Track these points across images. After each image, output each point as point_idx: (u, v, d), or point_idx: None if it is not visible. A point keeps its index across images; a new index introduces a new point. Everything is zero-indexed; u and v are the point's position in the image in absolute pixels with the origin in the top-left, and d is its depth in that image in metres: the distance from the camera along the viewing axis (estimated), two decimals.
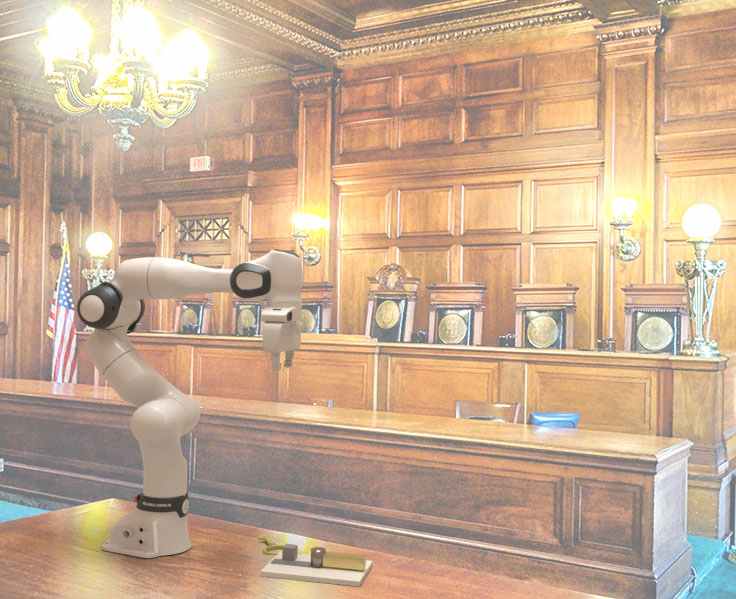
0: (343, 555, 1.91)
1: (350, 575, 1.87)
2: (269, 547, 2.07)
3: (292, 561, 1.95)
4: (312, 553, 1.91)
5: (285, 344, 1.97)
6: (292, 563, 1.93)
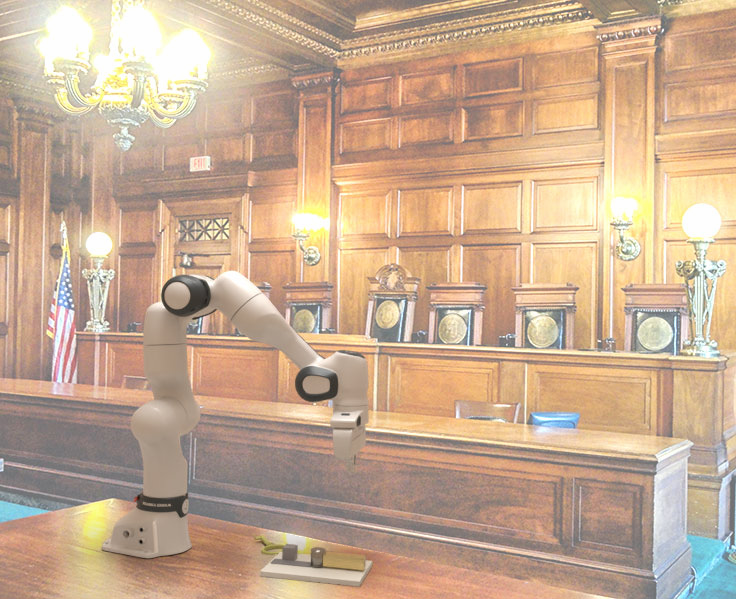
0: (343, 555, 1.91)
1: (350, 575, 1.87)
2: (267, 547, 2.07)
3: (292, 561, 1.95)
4: (312, 553, 1.91)
5: (354, 448, 1.94)
6: (292, 563, 1.93)
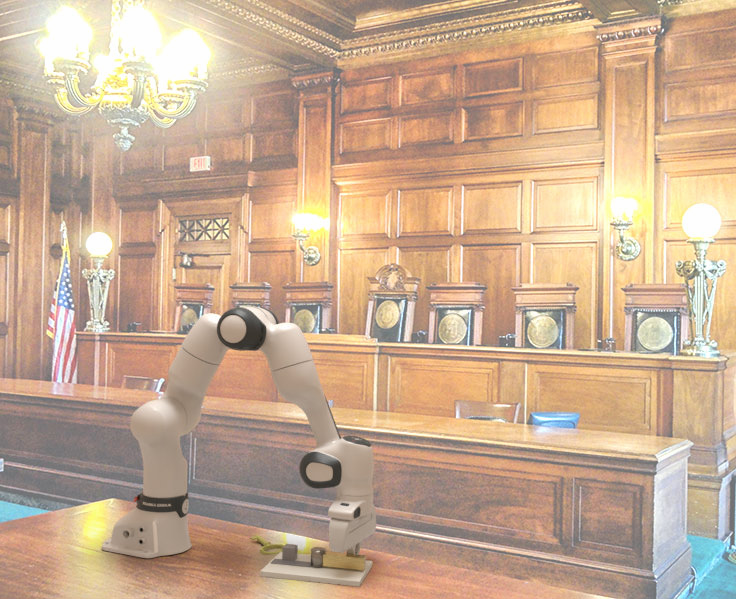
0: (343, 555, 1.91)
1: (350, 575, 1.87)
2: (265, 547, 2.07)
3: (292, 561, 1.95)
4: (312, 553, 1.91)
5: (354, 538, 1.90)
6: (292, 563, 1.93)
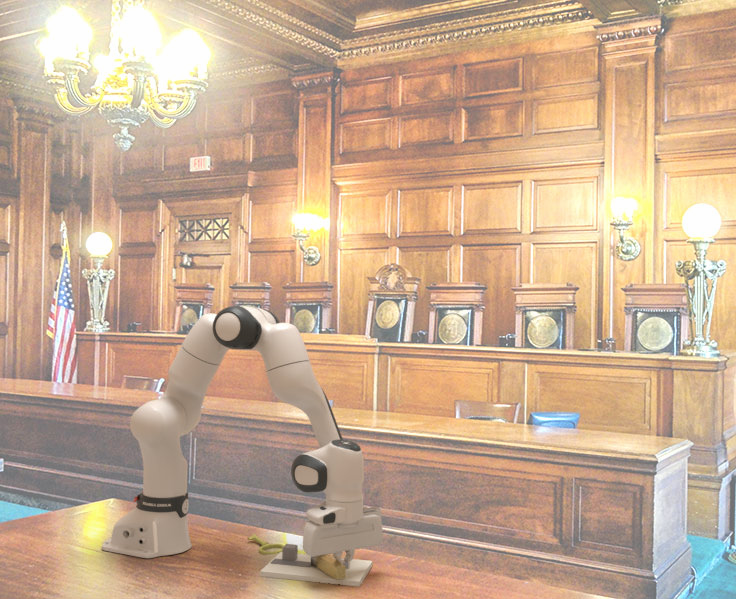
0: (328, 560, 1.87)
1: (350, 575, 1.87)
2: (264, 546, 2.07)
3: (292, 561, 1.95)
4: None
5: (334, 545, 1.84)
6: (292, 563, 1.93)
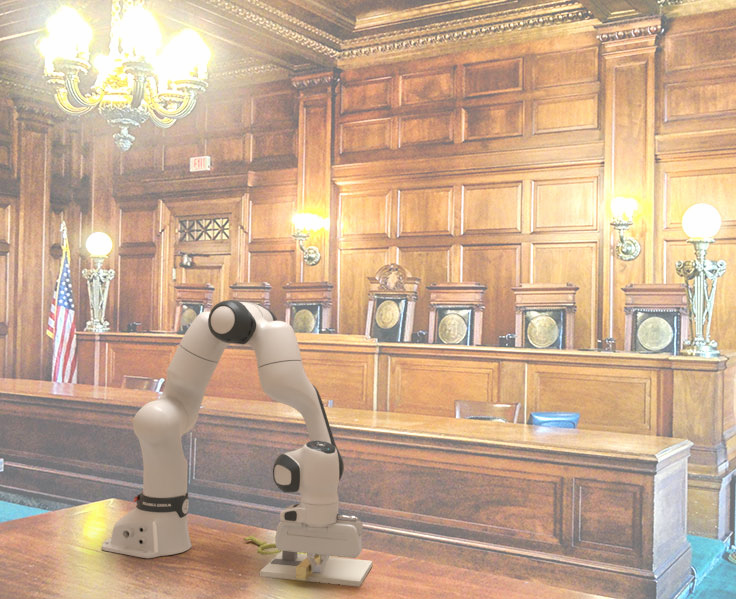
0: (306, 560, 1.87)
1: (350, 575, 1.87)
2: (262, 546, 2.07)
3: (292, 561, 1.95)
4: None
5: (301, 545, 1.83)
6: (292, 563, 1.93)
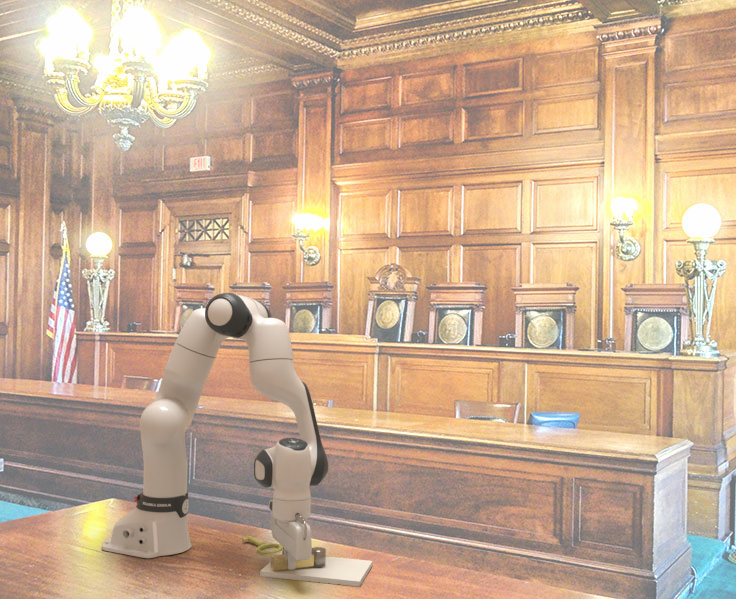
0: None
1: (350, 575, 1.87)
2: (261, 547, 2.07)
3: None
4: None
5: (279, 536, 1.89)
6: None
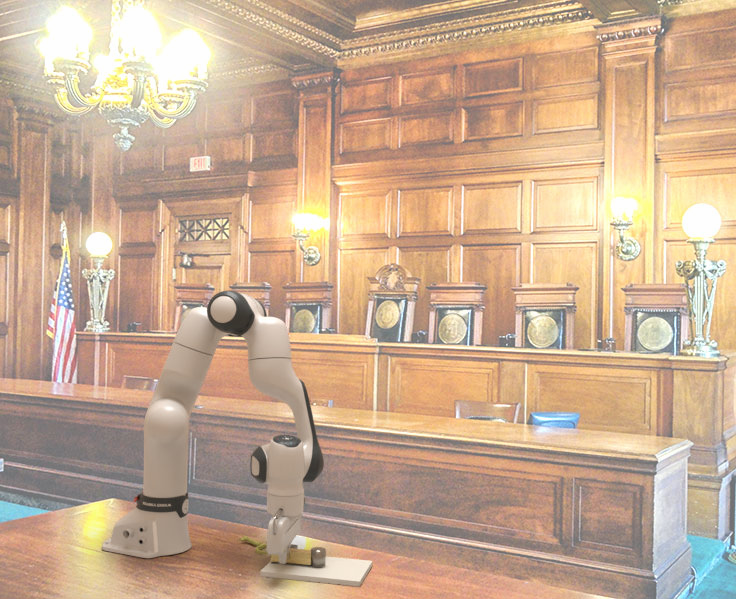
0: (293, 549, 1.94)
1: (350, 575, 1.87)
2: (259, 546, 2.07)
3: None
4: None
5: None
6: (292, 563, 1.93)
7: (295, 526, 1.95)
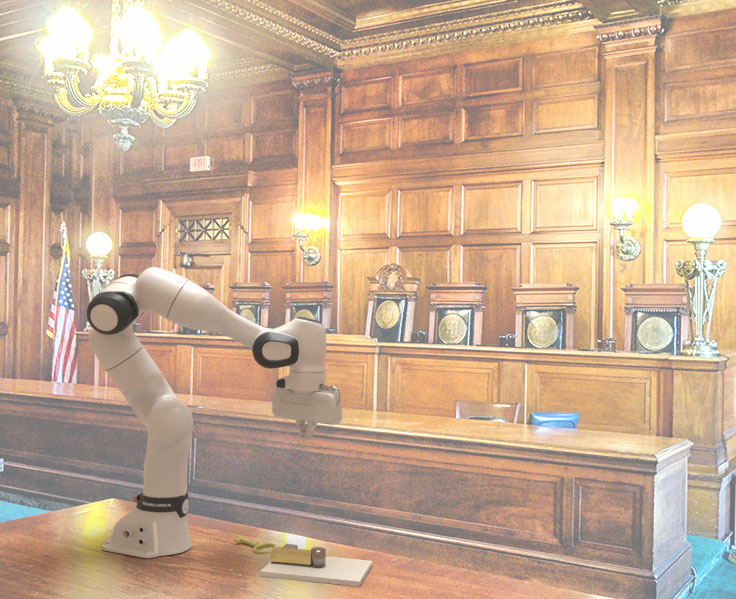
0: (293, 549, 1.94)
1: (350, 575, 1.87)
2: (257, 547, 2.07)
3: None
4: None
5: (291, 411, 1.98)
6: (292, 563, 1.93)
7: None
